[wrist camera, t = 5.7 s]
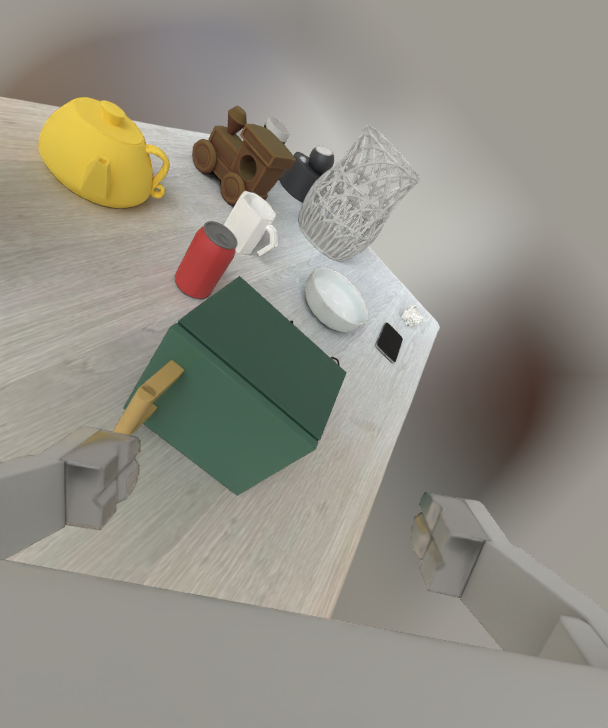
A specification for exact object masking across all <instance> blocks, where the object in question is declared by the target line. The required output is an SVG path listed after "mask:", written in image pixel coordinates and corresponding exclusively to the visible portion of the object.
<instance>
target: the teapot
mask: <svg viewBox="0 0 608 728" xmlns="http://www.w3.org/2000/svg"><path fill="white" fill-rule="evenodd" d="M38 148H39V151H40V154H41V157H42V159H43V161H44V163H45V164H46V165H47V167H48V168H49V170H50V171H51V172H52V173H53V175H54V176H55V177H56V178H57V179H58V180H59V181H60V182H61V183H62V184H63V185H64V186H65V187H67V188H68V189H69V190H71V191H72V192H74V193H75V194H77V195H79V196H81V197H83V198H85V199H87V200H89V201H91V202H94V203H96V204H99V205H103V206H107V207H112V208H128V207H133V206H136V205H139V204H141V203H143V202H144V201H145V200H146V199H147V198H148V197H149V195H151V196H152V197H154V198H162V197H163V196H164V194H165V188H164V187H163V185H161V184H159V183H160V182H161V181H162V180H163V179H164V177H165V176H166V174H167V173H168V170H169V160H168V158H167V156H166V154H165V153H164V152H163V151H162V150H161V149H160V148H158V147H156V146H154V145H149V144H147V145H146V142H145V139H144V136H143V134H142V132H141V131H140V129H139V128H138V127H137V126H136V124H135V123H134V122H133V121H131V120H130V119H129V118H128V117H127V116H126V115H125V113H124V112H123V110H122V109H121V108H119V107H118V106H117V105H115V104H113V103H111V102H108V101H98V100H95V99H92V98H85V97H81V98H76V99H74V100H72V101H70V102H68V103H66V104H65V105H63V106H62V107H61V108H59V109H58V110H57V111H55V112H54V113H53V114H52V115H51V116H50V117H49V118H48V120H47V121H46V123H45V125H44V126H43V128H42V131H41V133H40V137H39V143H38ZM149 153H151V154H154V155H157V156H158V157H160V158H161V159H162V160H163V166H162V168H161V170H160V171H159V172H158V174H157V175H156V176H155V177H154V178H153V175H152V165H151V160H150V156H149ZM152 178H153V179H152ZM155 188H158V189H160V191H155Z"/></svg>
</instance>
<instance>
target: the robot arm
mask: <svg viewBox="0 0 608 728" xmlns="http://www.w3.org/2000/svg"><path fill="white" fill-rule="evenodd" d="M140 442H141V441H140V439H139V438H138V437H136V436H131V435H126V434H122V433H117V432H112V431H107V430H102V429H98V428H93V427H87V426H84V427H80V428H78V429H77V430H75V431H74V432H72V433H71V434H69V435H68V436H66V437H64V438H63V439H61V440H60V441H58V442H57V443H55V444H54V445H52V446H51V447H49V448H48V449H46V450H45V451H43V452H42V453H40V454H39V455H37V456H35V455H27V456H24V457H20V458H16V459H12V460H8V461H4V462H0V728H608V611H607V610H605V609H604V608H603V607H601V606H600V605H598V604H597V603H595V602H594V601H593V600H591V599H590V598H589V597H587V596H586V595H584V594H583V593H582V592H580V591H579V590H578V589H576V588H575V587H573V586H572V585H571V584H569V583H568V582H566V581H565V580H564V579H562V578H561V577H559V576H558V575H556V574H555V573H554V572H553V571H551V570H550V569H548V568H547V567H545V566H544V565H543V564H541V563H540V562H539V561H537V560H536V559H534V558H533V557H532V556H530V555H529V554H527V553H526V552H524V551H523V550H522V549H520V548H519V547H518V546H513V545H511V543H510V542H509V541H508V539H507V538H506V536H505V535H504V534H503V532H502V531H501V529H500V528H499V526H498V525H497V524H496V522H495V521H494V519H493V518H492V517H491V515H490V514H489V512H488V511H487V510H486V508H485V507H484V505H483V504H482V503H480V502H479V501H477V500H470V499H464V498H456V497H449V496H444V495H438V494H432V493H426V492H425V493H424V494H423V496H422V497H421V500H420V503H419V505H420V508H421V510H422V512H421V513H419V514H418V515H417V516H415V517H414V520H413V524H412V527H411V542H412V547H413V550H414V553H415V554H416V555H417V556H418V557H419V558H420V559H421V560H422V562H421V565H420V571H421V574H422V577H423V579H424V582H425V585H426V588H427V591H430V592H435V593H440V594H444V595H449V596H453V597H458V598H461V599H460V600H461V601H462V602H463V603H464V605H465V606H466V607H467V608H468V609H469V611H470V612H471V613H472V614H473V615H474V616H475V618H476V619H477V620H478V621H479V622H480V624H482V626H483V627H484V628H485V629H486V631H487V632H488V633H489V634H490V635H491V636H492V638H493V639H494V640H495V641H496V642H497V644H499V646H500V647H501V648H502V650H503V651H502V650H497V649H491V648H485V647H480V646H473V645H468V644H463V643H458V642H452V641H447V640H441V639H436V638H430V637H425V636H419V635H414V634H408V633H403V632H398V631H392V630H387V629H381V628H376V627H371V626H365V625H360V624H355V623H349V622H344V621H338V620H333V619H327V618H322V617H317V616H311V615H306V614H300V613H295V612H289V611H283V610H278V609H272V608H267V607H261V606H256V605H250V604H245V603H239V602H234V601H228V600H223V599H217V598H212V597H206V596H201V595H195V594H190V593H184V592H178V591H173V590H167V589H162V588H157V587H151V586H146V585H140V584H135V583H129V582H124V581H118V580H113V579H107V578H102V577H96V576H91V575H85V574H80V573H74V572H69V571H63V570H58V569H53V568H47V567H42V566H36V565H31V564H25V563H20V562H14V561H9V560H5V559H6V558H8V557H10V556H12V555H14V554H16V553H18V552H19V551H21V550H23V549H25V548H27V547H29V546H30V545H32V544H34V543H36V542H38V541H40V540H42V539H43V538H45V537H47V536H49V535H51V534H53V533H54V532H56V531H58V530H60V529H62V528H64V527H65V525H69V526H76V527H82V528H89V529H95V530H101V529H102V528H103V526H104V525H105V524H106V523H107V522H108V520H109V519H110V518H111V517H112V516H113V514H114V513H115V512H116V504H117V503H119V502H121V501H123V500H126V499H127V497H128V496H129V495H130V494H131V492H132V491H133V488H134V486H135V484H136V482H137V479H138V475H139V464H138V462H137V460H136V459H135V456H136V455H137V454H138V453H139V452H140Z"/></svg>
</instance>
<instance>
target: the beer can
mask: <svg viewBox="0 0 608 728" xmlns="http://www.w3.org/2000/svg"><path fill="white" fill-rule="evenodd" d="M237 244H238V242H237V239H236V237H235V235H234V234H233V233H232V232H231V231H230V230H229V229H228V228H227V227H225V226H224V225H222V224H220V223H217V222H213V221H211V222H207V223H205V225H204V226H203V227H202V228H200V229H199V230H198V231H197V232H196V234H195V236H194V238H193V240H192V242H191V244H190V246H189V248H188V250H187V252H186V254H185V256H184V258H183V260H182V262H181V264H180V266H179V268H178V270H177V272H176V274H175V282H176V284H177V286H178V287H179V289H180V290H181V291H182V292H184V293H185V294H186V295H188V296H191V297H193V298H205V297H208V296H209V295H210V294H211V292H212V291H213V289H214V287H215V286H216V284H217V283H218V281H219V280H220V278H221V276H222V275H223V273H224V272H225V270H226V269H227V267H228V266H229V264H230V262H231V261H232V259H233V258H234V255H235V250H236V247H237Z"/></svg>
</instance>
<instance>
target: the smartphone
mask: <svg viewBox="0 0 608 728" xmlns="http://www.w3.org/2000/svg"><path fill="white" fill-rule="evenodd" d="M402 340H403V339H402V337H401V335H400V334H399V333H398V332H397V331H396V330H395V329H394V328H393V327H392V326H391V325H390V324H389V323H385V324H384V327H383V329H382V331H381V333H380V336H379V338H378V340H377V342H376V347H377V348H378V349H379V350H380V351H381V352H382V353H383V354H384V355H385V356H386V357H387V358H388V359H389V360H390V361H391V362H392V363H394V362H396V359H397V356H398V353H399V349H400V346H401V343H402Z"/></svg>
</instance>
